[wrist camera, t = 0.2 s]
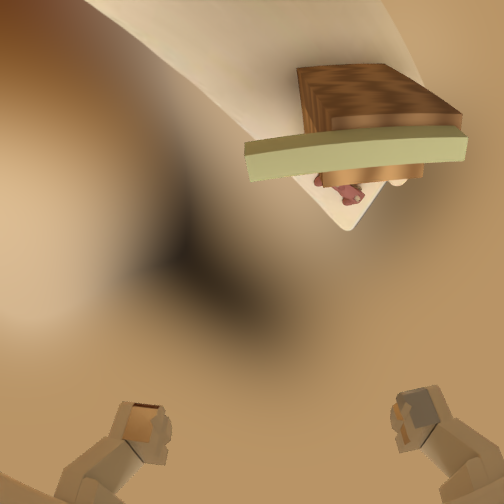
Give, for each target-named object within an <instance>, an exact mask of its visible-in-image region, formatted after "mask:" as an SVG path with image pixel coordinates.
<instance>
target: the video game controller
mask: <svg viewBox="0 0 504 504" xmlns="http://www.w3.org/2000/svg"><path fill="white" fill-rule="evenodd" d="M314 184H315V186H323V185H322V182H321V179H320V177H319V176H318V177H317V178H316V179H315V181H314ZM332 188H334V189H335V190H336V191H338V192H339V193H340V195H341V196H343V197H344V199H343V204H344V205H346V206H348V205H352V204H357V203H359V202H360V201H361V200H362V199H363V198H364V196H365V194H364V193H362V192H361V190H362V189H361V188H360V187H357V188H354V187H352V186H351V185H342V186H333V187H332Z"/></svg>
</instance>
